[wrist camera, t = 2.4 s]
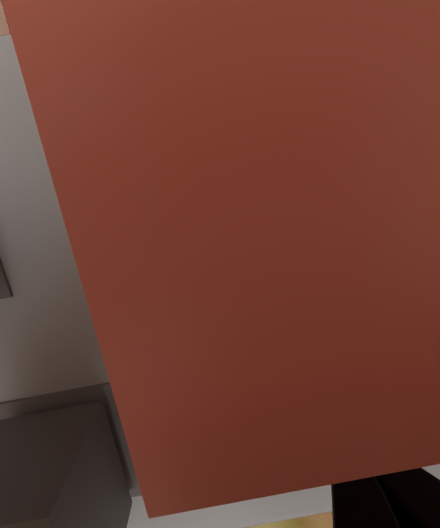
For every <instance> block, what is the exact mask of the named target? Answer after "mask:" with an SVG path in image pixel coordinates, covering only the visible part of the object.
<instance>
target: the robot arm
mask: <svg viewBox="0 0 440 528" xmlns="http://www.w3.org/2000/svg"><path fill="white" fill-rule="evenodd" d="M331 495H332V515H333V528H440V479H438V478H436V477H435V476H433V475H432V474H430V473H429V472H427V471H426V470H424V469H423V468H416V469H411V470H405V471H400V472H395V473H390V474H384V475H379V476H374V477H368V478H363V479H358V480H352V481H347V482H342V483H336V484H331Z"/></svg>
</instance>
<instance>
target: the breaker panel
mask: <svg viewBox="0 0 440 528" xmlns="http://www.w3.org/2000/svg"><path fill="white" fill-rule="evenodd" d="M98 401H103V404H104V407H105V411H106V414H107V417H108V421H109V424H110V428H111V431H112V434H113V438H114V441H115V445H116V448H117V451H118V455H119V458H120V462H121V465H122V468H123V472H124V475H125V479H126V482H127V485H128V489H129V492H130V496H131V499H132V506H131V511H130V515H129V520H128V524H127V528H245V527H250V526H256V525H261V524H266V523H272V522H277V521H282V520H288V519H293V518H298V517H304V516H309V515H314V514H320V513H325V512H330V511H332V495H331V485H326V486H320V487H315V488H310V489H304V490H299V491H294V492H288V493H283V494H278V495H272V496H267V497H262V498H256V499H251V500H246V501H240V502H235V503H230V504H224V505H219V506H214V507H208V508H203V509H198V510H192V511H187V512H182V513H176V514H171V515H166V516H160V517H155V518H150V519H149V518H148V515H147V511H146V508H145V504H144V501H143V497H142V494H141V490H140V487H139V483H138V480H137V476H136V473H135V469H134V466H133V462H132V459H131V455H130V452H129V448H128V445H127V441H126V438H125V434H124V431H123V427H122V424H121V420H120V417H119V413H118V409H117V406H116V402H115V399H114V395H113V392H112V388H111V385H110V381H109V378H108V374H107V371H106V367H105V364H104V360H103V357H102V353H101V350H100V346H99V343H98V339H97V336H96V332H95V329H94V325H93V322H92V318H91V315H90V311H89V308H88V304H87V301H86V297H85V294H84V290H83V287H82V283H81V280H80V276H79V273H78V269H77V265H76V262H75V258H74V255H73V251H72V248H71V244H70V241H69V237H68V234H67V230H66V227H65V223H64V220H63V216H62V213H61V209H60V206H59V202H58V199H57V195H56V192H55V188H54V185H53V181H52V178H51V174H50V171H49V167H48V164H47V160H46V157H45V153H44V150H43V146H42V143H41V139H40V136H39V132H38V129H37V125H36V121H35V118H34V114H33V111H32V107H31V104H30V100H29V97H28V93H27V90H26V86H25V83H24V79H23V76H22V72H21V69H20V65H19V62H18V58H17V55H16V51H15V48H14V44H13V41H12V37H11V34H9V35H4V36H0V420H2V419H7V418H13V417H18V416H23V415H29V414H34V413H39V412H45V411H50V410H55V409H61V408H66V407H71V406H77V405H82V404H87V403H93V402H98ZM421 468H423V469H424V470H426V471H427V472H429V473H430V474H432V475H433V476H435V477H436V478H438V479H440V464H437V465H432V466H427V467H421Z"/></svg>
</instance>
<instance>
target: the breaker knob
mask: <svg viewBox="0 0 440 528" xmlns="http://www.w3.org/2000/svg"><path fill="white" fill-rule="evenodd" d="M131 506H132V499H131V496H130V492H129V489H128V485H127V482H126V479H125V475H124V472H123V468H122V465H121V462H120V458H119V455H118V451H117V448H116V445H115V441H114V438H113V434H112V431H111V428H110V424H109V421H108V417H107V414H106V411H105V407H104V404H103V401H98V402H93V403H87V404H82V405H77V406H71V407H66V408H61V409H55V410H50V411H45V412H39V413H34V414H29V415H23V416H18V417H13V418H7V419H2V420H0V528H127V524H128V520H129V515H130V511H131Z"/></svg>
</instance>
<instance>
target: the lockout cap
mask: <svg viewBox="0 0 440 528" xmlns="http://www.w3.org/2000/svg"><path fill="white" fill-rule="evenodd" d="M1 2H2V6H3V9H4V13H5V16H6V20H7V23H8V27H9V30H10V34H11V37H12V41H13V44H14V48H15V51H16V55H17V58H18V62H19V65H20V69H21V72H22V76H23V79H24V83H25V86H26V90H27V93H28V97H29V100H30V104H31V107H32V111H33V114H34V118H35V121H36V125H37V129H38V132H39V136H40V139H41V143H42V146H43V150H44V153H45V157H46V160H47V164H48V167H49V171H50V174H51V178H52V181H53V185H54V188H55V192H56V195H57V199H58V202H59V206H60V209H61V213H62V216H63V220H64V223H65V227H66V230H67V234H68V237H69V241H70V244H71V248H72V251H73V255H74V258H75V262H76V265H77V269H78V273H79V276H80V280H81V283H82V287H83V290H84V294H85V297H86V301H87V304H88V308H89V311H90V315H91V318H92V322H93V325H94V329H95V332H96V336H97V339H98V343H99V346H100V350H101V353H102V357H103V360H104V364H105V367H106V371H107V374H108V378H109V381H110V385H111V388H112V392H113V395H114V399H115V402H116V406H117V409H118V413H119V417H120V420H121V424H122V427H123V431H124V434H125V438H126V441H127V445H128V448H129V452H130V455H131V459H132V462H133V466H134V469H135V473H136V476H137V480H138V483H139V487H140V490H141V494H142V497H143V501H144V504H145V508H146V511H147V515H148V518H149V519H150V518H155V517H160V516H166V515H171V514H176V513H182V512H187V511H192V510H198V509H203V508H208V507H214V506H219V505H224V504H230V503H235V502H240V501H246V500H251V499H256V498H262V497H267V496H272V495H278V494H283V493H288V492H294V491H299V490H304V489H310V488H315V487H320V486H326V485H331V484H336V483H342V482H347V481H352V480H358V479H363V478H368V477H374V476H379V475H384V474H390V473H395V472H400V471H405V470H411V469H416V468H421V467H427V466H432V465H437V464H440V0H1Z"/></svg>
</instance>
